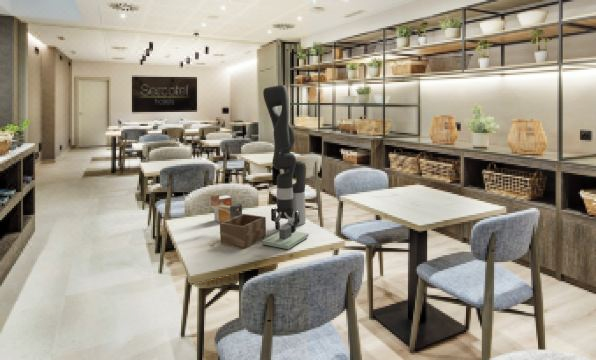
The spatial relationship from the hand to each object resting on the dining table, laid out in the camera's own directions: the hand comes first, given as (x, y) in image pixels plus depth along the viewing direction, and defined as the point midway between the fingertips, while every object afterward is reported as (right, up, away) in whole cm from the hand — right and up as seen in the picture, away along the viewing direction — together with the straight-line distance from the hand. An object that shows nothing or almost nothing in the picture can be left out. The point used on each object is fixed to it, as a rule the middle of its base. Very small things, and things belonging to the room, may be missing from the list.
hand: (285, 231), depth 196 cm
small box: (-35, +2, +36) cm, 50 cm away
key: (-30, +9, +13) cm, 34 cm away
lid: (0, -4, +1) cm, 4 cm away
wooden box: (-21, -5, +4) cm, 22 cm away
